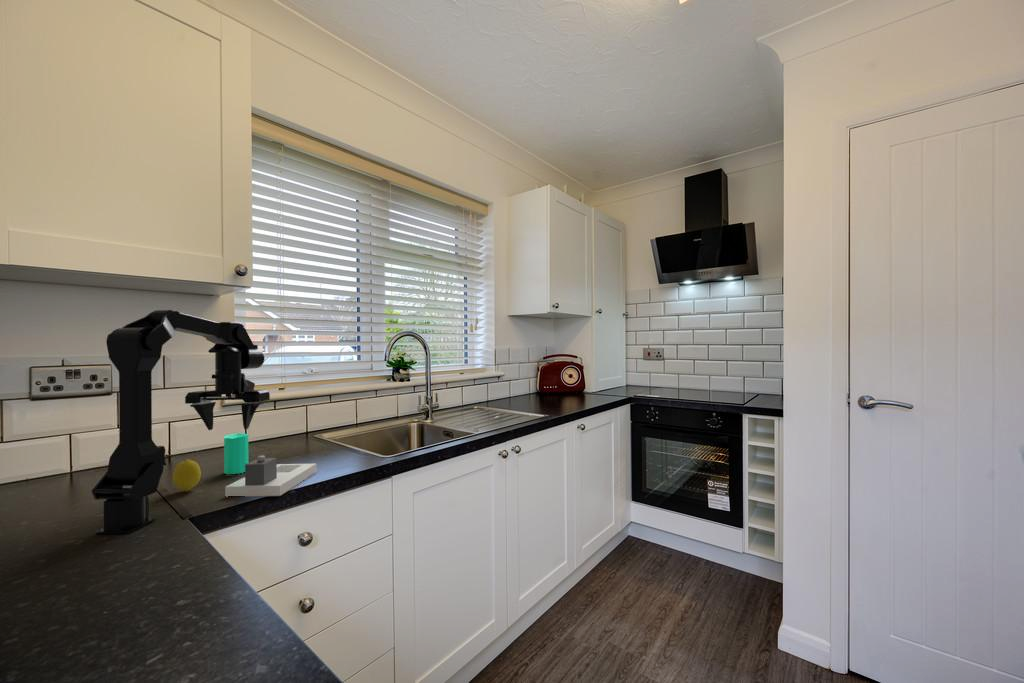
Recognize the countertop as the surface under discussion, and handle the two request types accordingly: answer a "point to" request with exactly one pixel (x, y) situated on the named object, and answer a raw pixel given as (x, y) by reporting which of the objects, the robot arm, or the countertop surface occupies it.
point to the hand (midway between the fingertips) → (228, 429)
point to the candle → (235, 453)
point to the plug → (260, 471)
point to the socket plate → (274, 481)
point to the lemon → (186, 475)
